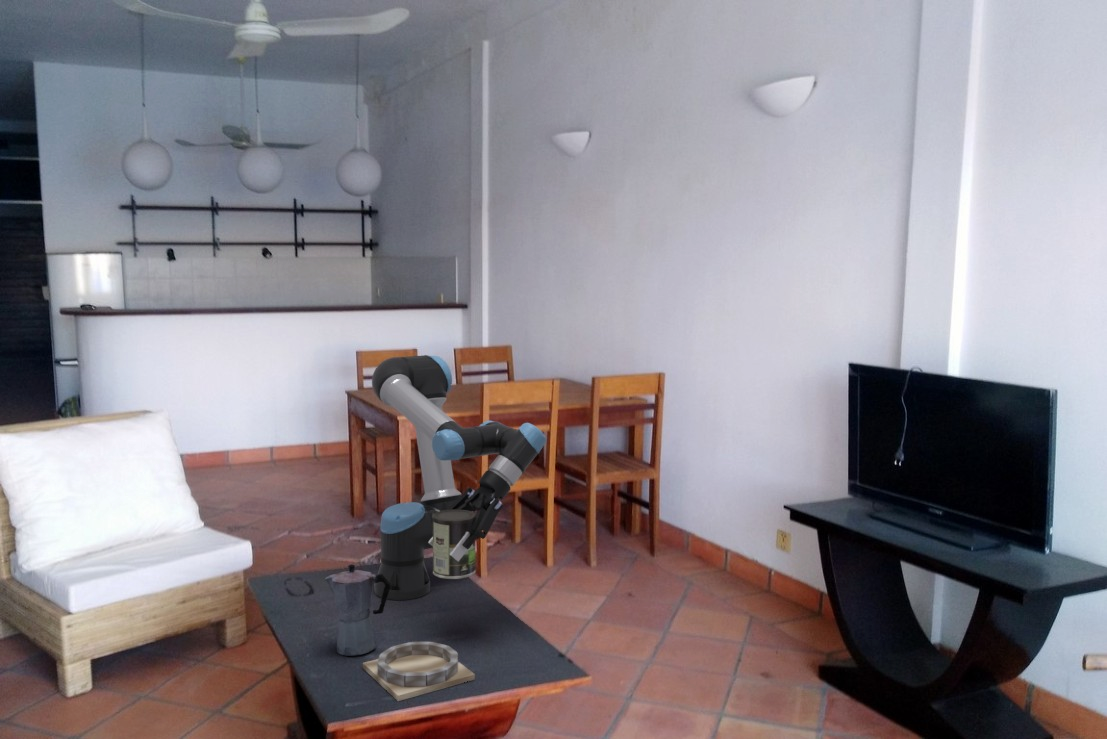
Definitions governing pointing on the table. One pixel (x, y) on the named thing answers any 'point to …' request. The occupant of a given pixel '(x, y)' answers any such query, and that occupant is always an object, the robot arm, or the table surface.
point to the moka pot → (355, 609)
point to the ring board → (417, 669)
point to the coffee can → (452, 544)
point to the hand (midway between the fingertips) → (442, 551)
